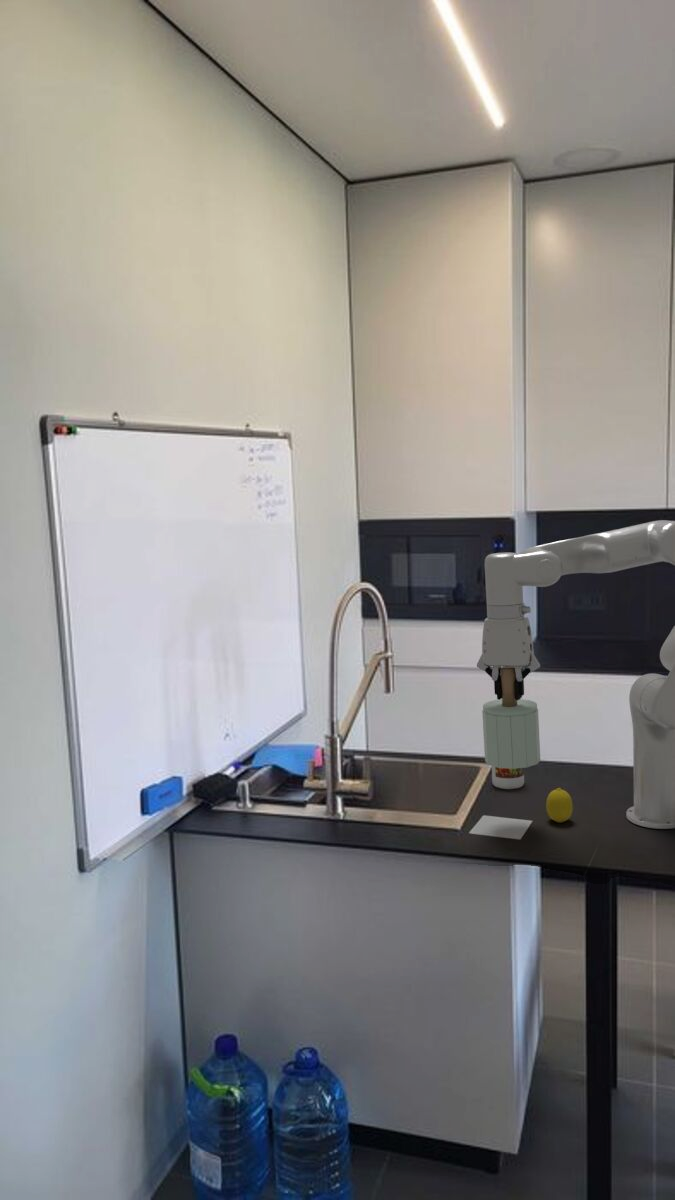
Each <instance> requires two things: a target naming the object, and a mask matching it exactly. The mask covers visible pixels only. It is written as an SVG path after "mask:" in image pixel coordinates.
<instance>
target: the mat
mask: <svg viewBox="0 0 675 1200" xmlns="http://www.w3.org/2000/svg"><path fill="white" fill-rule="evenodd" d="M532 823H533V820H529V819H519V818H510V817H501V816H493V815H482V816H481V817H480V819H479V820H478V822H477V823H476V824H475V825H474V826H473V827H472V829H470V830H469V832H468V834H472V835H479V836H485V837H486V836H487V837H496V838H505V839H513V840H522V838H523V836H524V835H525V833H526V832H527V830H528V828H529V827H530V826H531V824H532Z"/></svg>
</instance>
